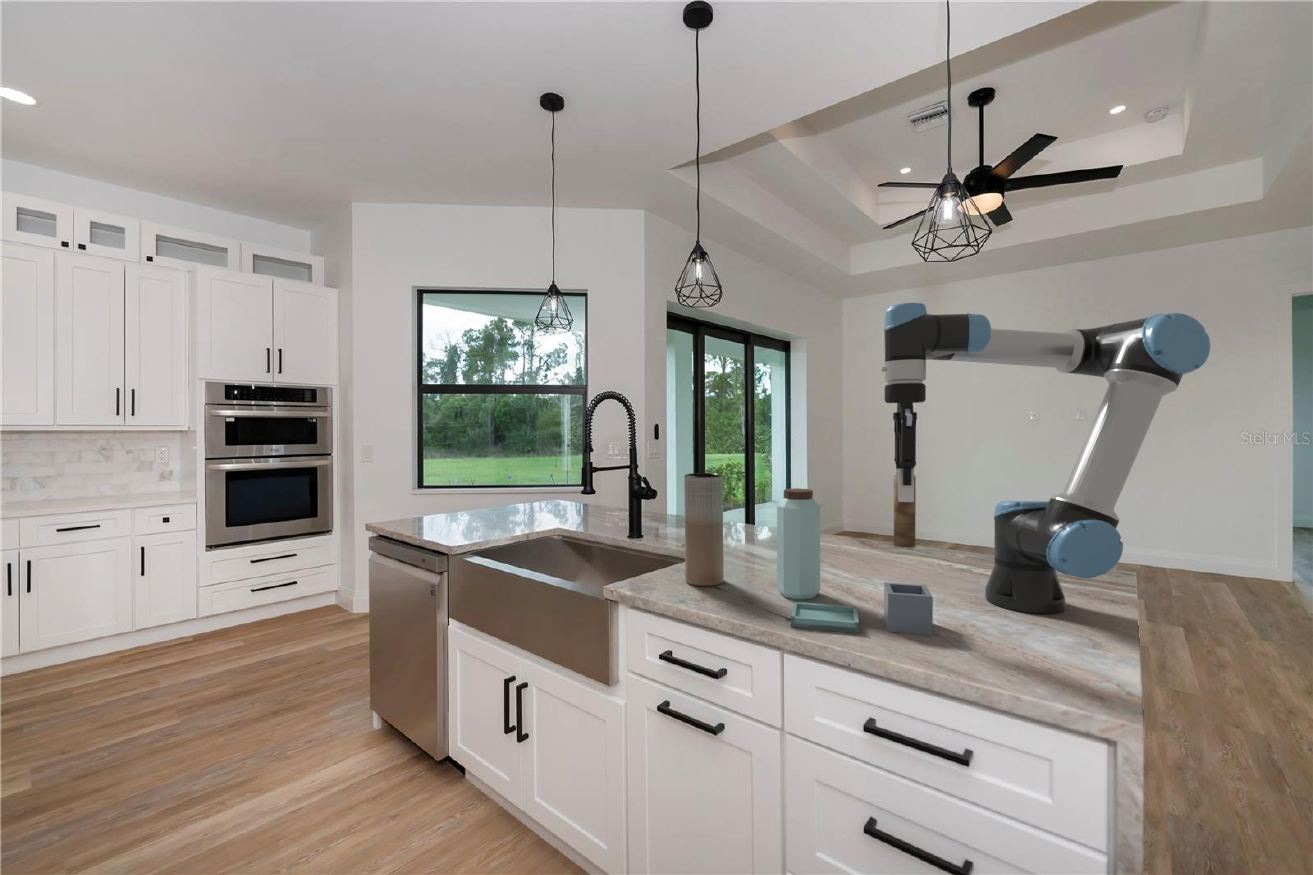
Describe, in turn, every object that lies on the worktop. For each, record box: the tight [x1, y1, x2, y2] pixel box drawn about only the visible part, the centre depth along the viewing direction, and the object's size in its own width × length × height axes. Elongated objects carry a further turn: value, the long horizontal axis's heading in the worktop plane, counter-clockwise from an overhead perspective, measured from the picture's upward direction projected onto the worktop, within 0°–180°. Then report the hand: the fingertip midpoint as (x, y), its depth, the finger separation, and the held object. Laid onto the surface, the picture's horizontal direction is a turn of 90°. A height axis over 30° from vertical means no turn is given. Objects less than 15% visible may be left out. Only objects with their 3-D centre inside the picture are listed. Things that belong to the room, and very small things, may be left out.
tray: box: [790, 601, 860, 634], centre depth 118 cm, size 13×10×2 cm
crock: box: [883, 581, 934, 636], centre depth 115 cm, size 8×8×8 cm
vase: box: [683, 472, 725, 587], centre depth 148 cm, size 10×10×28 cm
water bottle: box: [776, 487, 821, 601], centre depth 136 cm, size 10×10×25 cm
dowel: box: [893, 474, 917, 548], centre depth 114 cm, size 4×4×14 cm
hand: (904, 499), depth 114 cm, fingers closed on dowel, 4 cm apart
